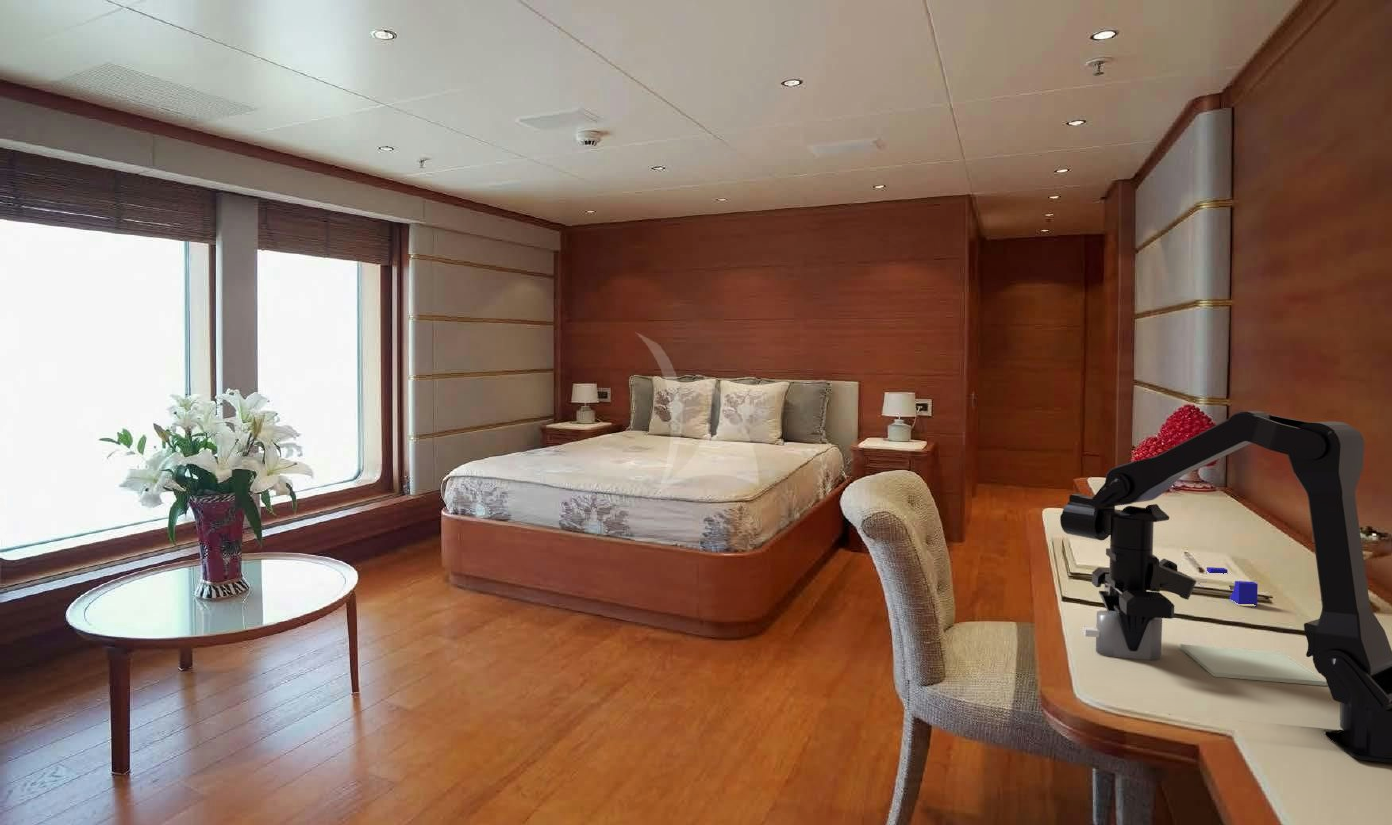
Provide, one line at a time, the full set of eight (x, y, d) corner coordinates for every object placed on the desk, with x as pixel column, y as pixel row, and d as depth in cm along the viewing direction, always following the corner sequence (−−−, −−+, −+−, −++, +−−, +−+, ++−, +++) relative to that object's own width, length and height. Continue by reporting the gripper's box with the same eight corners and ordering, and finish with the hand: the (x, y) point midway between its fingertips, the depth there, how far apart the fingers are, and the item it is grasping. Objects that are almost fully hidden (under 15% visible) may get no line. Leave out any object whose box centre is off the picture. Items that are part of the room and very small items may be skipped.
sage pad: (1327, 685, 105) (1327, 681, 105) (1213, 676, 108) (1213, 672, 108) (1281, 655, 116) (1281, 651, 116) (1180, 647, 120) (1180, 643, 120)
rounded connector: (1165, 660, 114) (1166, 621, 114) (1087, 654, 116) (1088, 616, 116) (1155, 651, 118) (1156, 613, 117) (1080, 645, 120) (1081, 608, 120)
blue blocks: (1197, 596, 149) (1198, 566, 149) (1222, 598, 148) (1223, 567, 148) (1229, 615, 137) (1230, 582, 137) (1256, 616, 137) (1257, 583, 136)
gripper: (1217, 563, 105) (1213, 673, 106) (1166, 536, 123) (1163, 630, 124) (1129, 558, 108) (1126, 666, 108) (1092, 533, 126) (1089, 625, 127)
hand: (1128, 645), depth 117 cm, fingers closed on rounded connector, 4 cm apart
